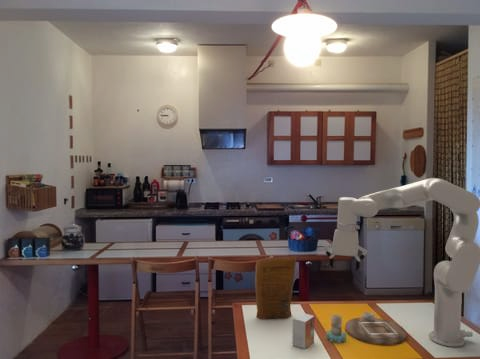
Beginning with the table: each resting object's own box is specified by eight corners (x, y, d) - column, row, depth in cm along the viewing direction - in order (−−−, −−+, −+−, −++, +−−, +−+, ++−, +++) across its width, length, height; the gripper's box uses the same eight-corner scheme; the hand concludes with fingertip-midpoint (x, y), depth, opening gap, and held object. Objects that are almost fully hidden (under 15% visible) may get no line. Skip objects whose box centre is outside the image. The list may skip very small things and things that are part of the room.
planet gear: (342, 334, 166) (343, 312, 166) (348, 343, 158) (349, 320, 158) (324, 334, 166) (324, 313, 165) (329, 343, 158) (329, 320, 158)
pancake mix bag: (297, 319, 181) (298, 257, 180) (255, 321, 179) (256, 258, 177) (293, 313, 188) (294, 254, 187) (252, 315, 185) (253, 255, 184)
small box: (304, 349, 153) (305, 322, 152) (291, 345, 156) (292, 318, 156) (314, 342, 159) (315, 315, 159) (301, 338, 163) (302, 312, 162)
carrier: (391, 320, 181) (391, 310, 181) (416, 344, 157) (417, 333, 157) (338, 320, 180) (338, 310, 180) (355, 345, 156) (356, 334, 156)
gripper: (368, 227, 166) (366, 269, 167) (325, 224, 171) (323, 264, 172) (369, 230, 159) (366, 273, 160) (324, 227, 164) (322, 268, 164)
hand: (344, 268), depth 166 cm, fingers open, 9 cm apart
